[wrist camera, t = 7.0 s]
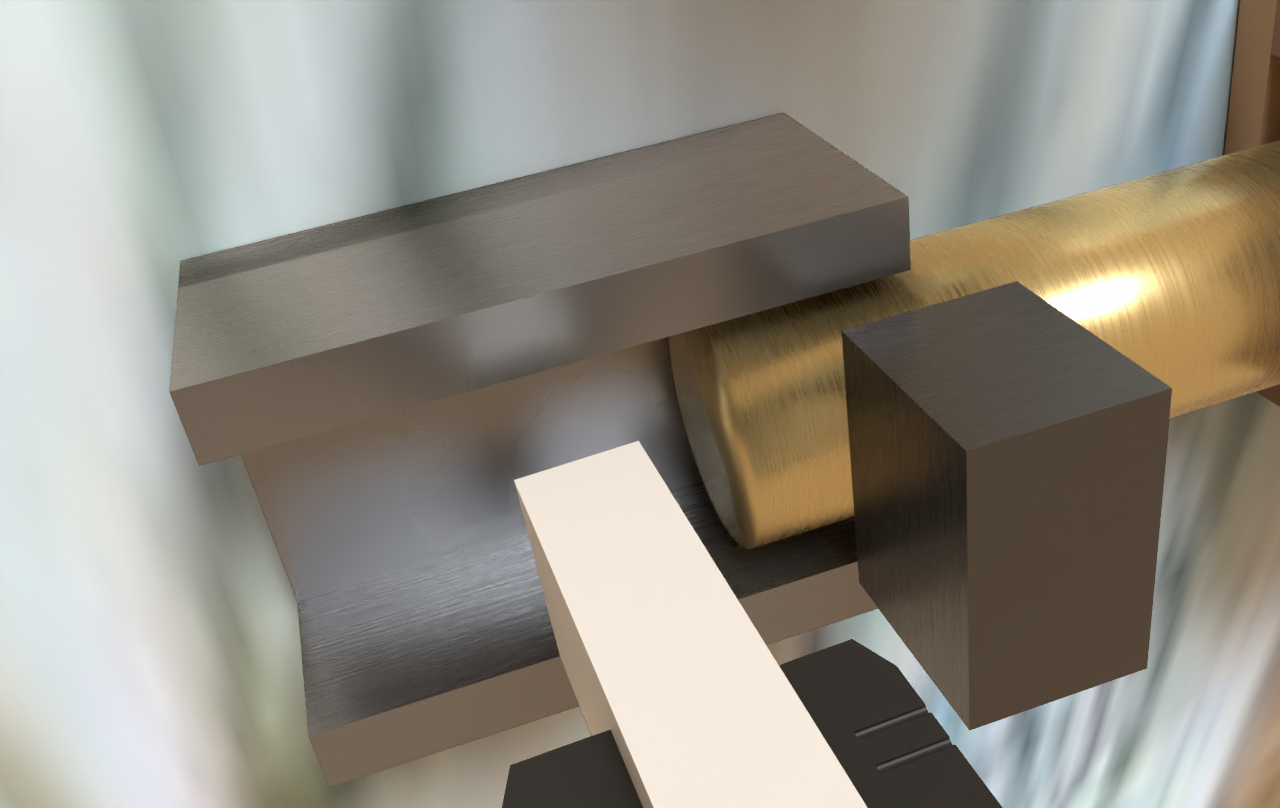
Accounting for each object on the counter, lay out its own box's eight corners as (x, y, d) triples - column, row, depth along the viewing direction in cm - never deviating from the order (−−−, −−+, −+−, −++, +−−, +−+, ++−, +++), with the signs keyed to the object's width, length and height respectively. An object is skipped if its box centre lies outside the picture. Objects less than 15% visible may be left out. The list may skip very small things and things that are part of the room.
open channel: (311, 612, 20) (329, 787, 17) (180, 260, 17) (169, 391, 14) (814, 461, 22) (922, 594, 18) (783, 112, 18) (907, 196, 15)
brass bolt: (688, 476, 20) (868, 765, 14) (654, 251, 18) (849, 487, 12) (1365, 275, 22) (1749, 456, 17) (1404, 55, 20) (1857, 178, 14)
